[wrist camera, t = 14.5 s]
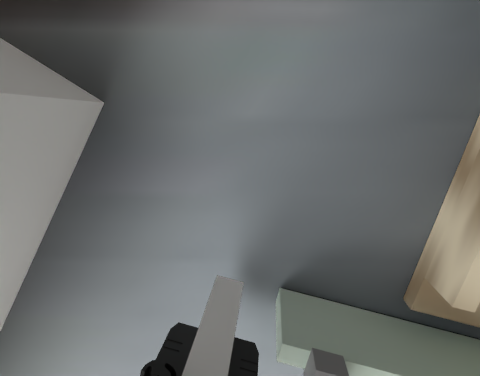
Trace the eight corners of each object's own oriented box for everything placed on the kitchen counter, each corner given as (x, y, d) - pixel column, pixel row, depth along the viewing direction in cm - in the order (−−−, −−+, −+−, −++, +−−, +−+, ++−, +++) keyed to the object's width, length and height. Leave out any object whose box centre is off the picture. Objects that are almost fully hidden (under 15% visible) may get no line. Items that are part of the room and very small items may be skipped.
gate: (280, 285, 18) (284, 361, 12) (485, 338, 17) (588, 444, 11) (274, 305, 18) (276, 388, 12) (475, 357, 17) (569, 469, 12)
